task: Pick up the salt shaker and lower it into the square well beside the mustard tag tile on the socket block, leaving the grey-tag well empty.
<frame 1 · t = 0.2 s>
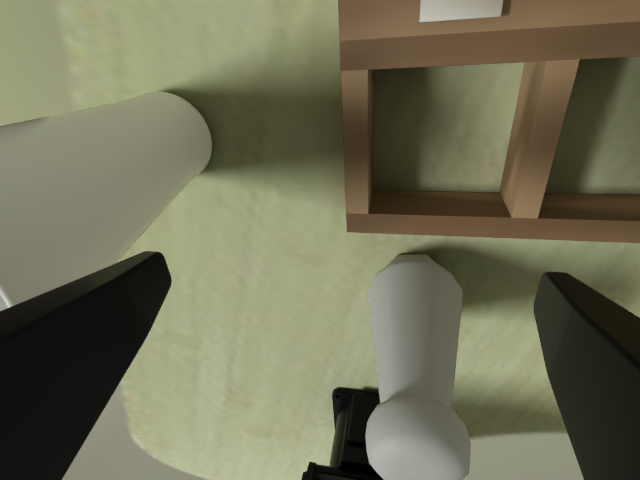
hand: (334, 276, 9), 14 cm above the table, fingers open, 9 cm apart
salt shaker: (413, 275, 26), on the table
socket block: (524, 129, 19), on the table
drinking glass: (177, 133, 24), on the table
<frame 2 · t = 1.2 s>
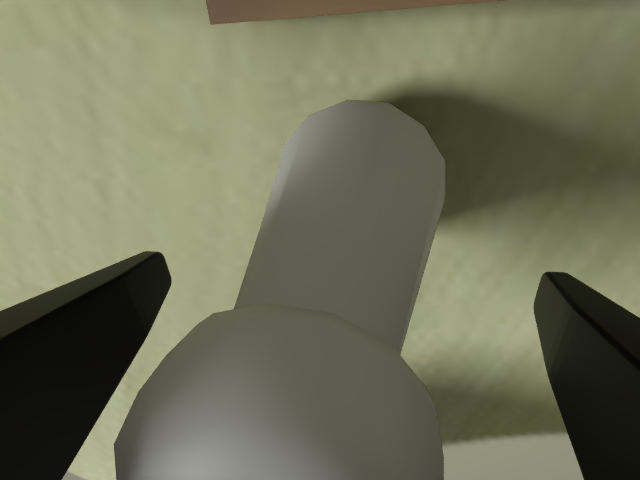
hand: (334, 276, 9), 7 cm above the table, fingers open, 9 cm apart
salt shaker: (365, 161, 15), on the table
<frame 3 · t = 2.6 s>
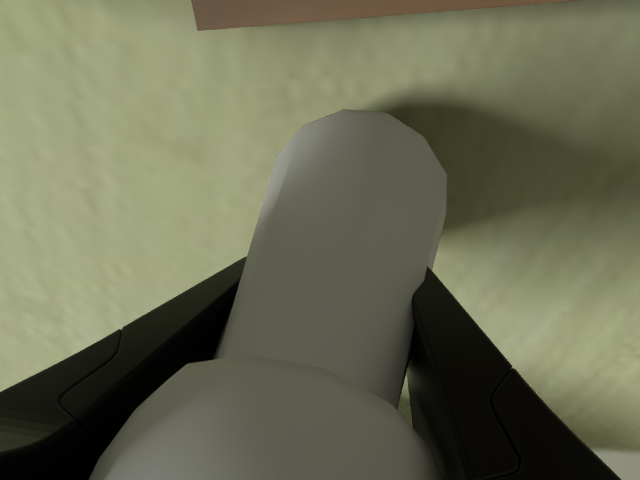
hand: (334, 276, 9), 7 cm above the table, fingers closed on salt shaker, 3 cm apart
salt shaker: (362, 172, 15), on the table, touching gripper
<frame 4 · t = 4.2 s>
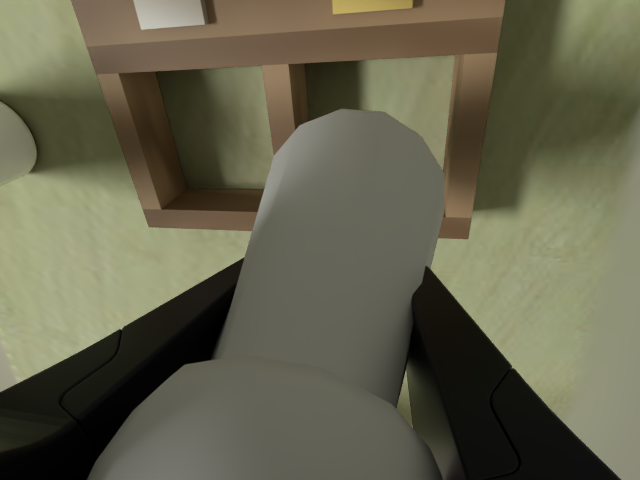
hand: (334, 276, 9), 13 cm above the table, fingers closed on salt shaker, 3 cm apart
salt shaker: (359, 171, 15), point 6 cm above the table, touching gripper
socket block: (299, 129, 21), on the table
drinking glass: (6, 134, 25), on the table
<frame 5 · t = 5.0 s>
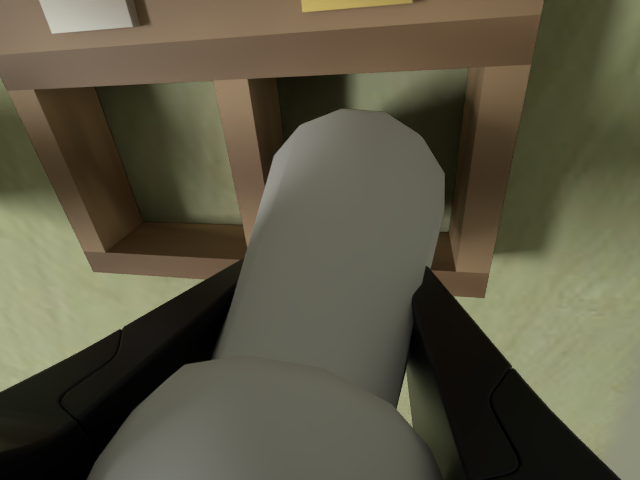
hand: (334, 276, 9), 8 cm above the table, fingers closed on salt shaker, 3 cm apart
salt shaker: (360, 171, 15), point 2 cm above the table, touching gripper
socket block: (272, 155, 17), on the table
when the fingers open (7 cm above the table, at t = 5.9 s): salt shaker stays where it is, resting in socket block.
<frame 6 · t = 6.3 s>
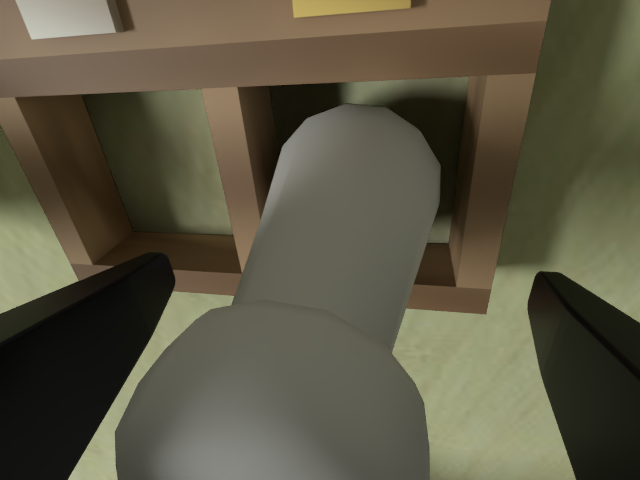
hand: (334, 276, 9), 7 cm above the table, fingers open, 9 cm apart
salt shaker: (362, 164, 15), resting in socket block
socket block: (266, 164, 16), on the table
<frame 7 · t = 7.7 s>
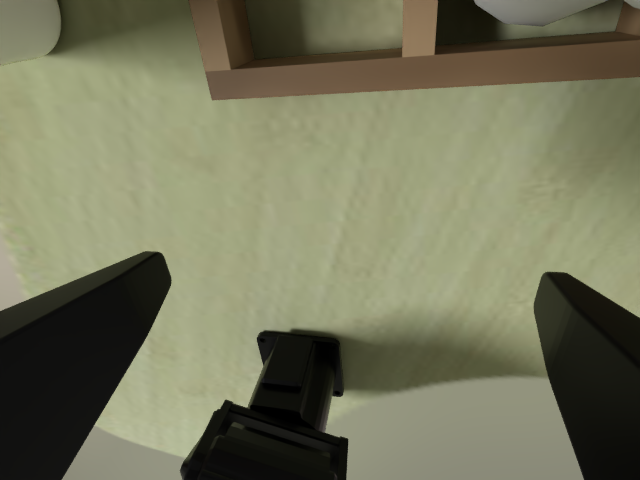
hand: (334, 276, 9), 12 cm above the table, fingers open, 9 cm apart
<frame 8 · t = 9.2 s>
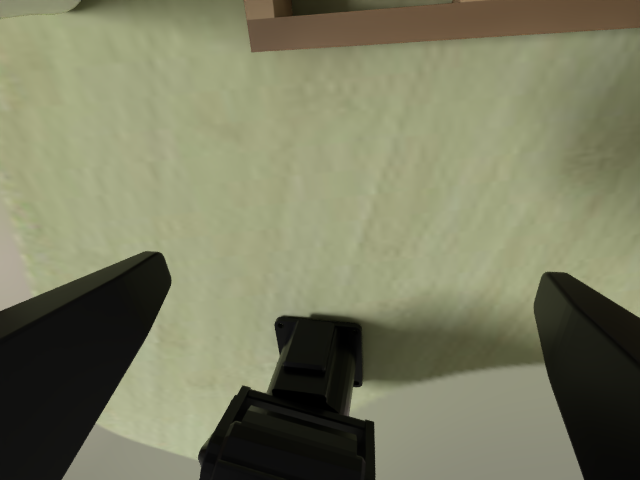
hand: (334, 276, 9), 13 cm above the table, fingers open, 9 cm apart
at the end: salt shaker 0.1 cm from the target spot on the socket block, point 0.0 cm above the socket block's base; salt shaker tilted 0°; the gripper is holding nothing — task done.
